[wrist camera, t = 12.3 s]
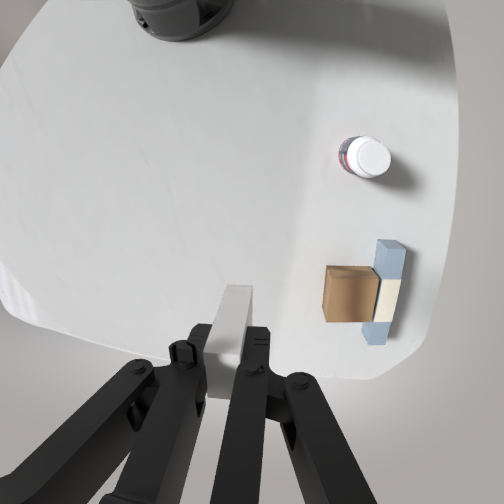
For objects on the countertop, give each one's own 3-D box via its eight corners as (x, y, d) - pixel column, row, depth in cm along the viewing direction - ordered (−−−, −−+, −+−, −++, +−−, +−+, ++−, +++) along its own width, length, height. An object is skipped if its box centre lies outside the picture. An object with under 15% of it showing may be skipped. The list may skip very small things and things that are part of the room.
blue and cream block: (361, 330, 48) (368, 346, 43) (377, 239, 43) (387, 249, 38) (377, 329, 48) (385, 345, 43) (395, 240, 42) (406, 250, 38)
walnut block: (321, 305, 47) (326, 322, 42) (326, 265, 45) (331, 278, 40) (363, 305, 47) (371, 321, 42) (369, 266, 44) (379, 279, 40)
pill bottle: (329, 154, 39) (343, 155, 31) (355, 129, 38) (374, 125, 30) (355, 181, 40) (374, 189, 32) (379, 157, 39) (403, 160, 30)
